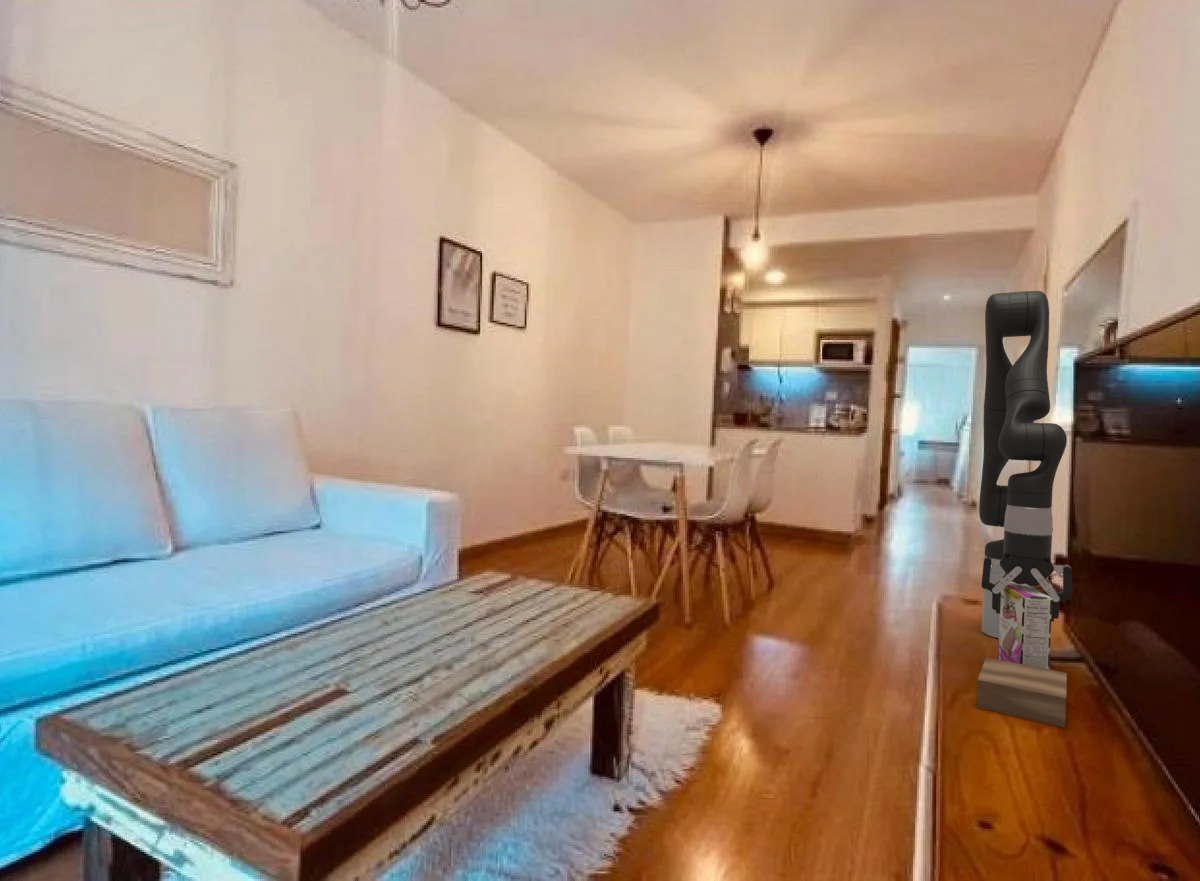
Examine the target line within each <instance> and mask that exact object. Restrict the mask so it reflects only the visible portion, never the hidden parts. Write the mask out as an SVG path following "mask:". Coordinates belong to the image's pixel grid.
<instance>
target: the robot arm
mask: <svg viewBox="0 0 1200 881" xmlns="http://www.w3.org/2000/svg"><path fill="white" fill-rule="evenodd" d="M1048 299H1049V298H1048V297H1047V295H1046V293H1045V292H1043V291H1041V290H1027V291H1026V290H1023V291H1013V292H1012V291H1010V292H1000V293H993V294H990V295H989V296H988V298H987V300H986V305H985V312H984V315H985V316H984V319H985V320H984V326H985V329H984V330H985V358H986V360H985V361H986V362H985V364H986V365H985V366H986V367H985V369H986V371H985V385H984V388H985V389H984V400H983V424H982V425H983V455H982V456H983V461H982V471H981V481H980V489H979V490H980V491H979V500H978V512H979V519H980V522H981V523H982V524H983V525H985V526H989V527H990V526H991V527H997V528H998V527H999V528H1003V539H997V540H993V541H989V542H987V543H986V544H985V546H984V558H983V563H982V564H983V566H982V574H981V575H982V576H981V588H982V589H983V590H982V614H981V632H982V633H983V634H985V635H986V636H990V637H992V638H996V639H999V614H1000V607H1001V592H1000V591H1001V590H1002V589H1003V588H1004V587H1005V586H1007V585H1008V584H1009V583H1010V582H1014V583H1016V584H1027V585H1030V586H1032V587H1036V586H1041V588H1042V589H1043V591H1045V592H1046V595H1047V596H1049V597H1051V598H1052V610H1051V623H1052V622H1053V623H1054V622H1055V620H1058V619H1059V616H1060V603H1061V602H1062V601H1066V600H1067V601H1070V600H1072V598H1073V578H1072V577H1073V573H1072V572H1073V571H1072V566H1070V565H1069V564H1064V565H1056V564H1053V563H1052V562H1053V561H1052V547H1053V546H1052V544H1053V531H1054V526H1053V520H1054V519H1053V510H1052V506H1053V490H1054V489H1053V488H1054V481H1055V477H1056V474H1057V470H1058V468H1059V465H1060V463H1061V460H1062V458H1063V456H1064V453H1065V451H1066V447H1067V442H1068V441H1067V440H1068V437H1067V434H1066V431H1065V429H1064V428H1063V427H1062V426H1061V425H1060V424H1057V423H1052V422H1051V423H1050V422H1046V423H1045V422H1036V421H1039V420H1041V419H1044V418H1045V417H1046V416H1047V415H1049V413H1050V411H1051V400H1050V391H1049V384H1048V383H1049V382H1048V357H1049V341H1050V340H1049V338H1050V336H1049V335H1050V306H1049V300H1048ZM1013 337H1017V338H1018V337H1030V339H1029V342H1028V344H1027V346H1026V347H1025V349H1024V351H1023V352H1022V353H1021V354H1020V356H1019V357H1018V358H1017V359H1016V361H1015V362H1014V364H1012V363H1011V361H1010V358H1009V356H1008V354H1007V352H1006V350H1005V347H1004V342H1003V340H1004V338H1013ZM1010 460H1011V461H1030V462H1032V461H1033V462H1040V463H1039V465H1038V467H1037V468H1036V469H1034V470H1032V471H1027V472H1020V473H1018V472H1017V473H1014V474H1011V475H1010V476H1009V477H1008V479H1007V485H999V484H997V483H998V480H999V478H1000V475H1001V473H1002V471H1003V470H1004V468H1005V466H1006V464H1007V463H1008V462H1009V461H1010ZM1054 572H1056V573H1057V576H1058V577H1059V578H1060V579H1062V591H1059V592H1057V591H1056V589H1055V588H1054V587H1053V585H1052V584H1051V583H1050V580H1049V579H1048V578H1049V576H1050V575H1052V574H1053V573H1054Z"/></svg>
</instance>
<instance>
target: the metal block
mask: <svg viewBox="0 0 1200 881" xmlns="http://www.w3.org/2000/svg"><path fill="white" fill-rule="evenodd" d="M1067 676H1068V673H1067V672H1064V671H1060V670H1054V669H1050V668H1049V669H1044V668H1039V667H1034V666H1029V665H1024V664H1018V663H1013V662H1008V661H1003V660H998V658H991V657H985V659H984V661H983V665H982V667H981V669H980V673H979V675H978V678H977V689H976V693H977V694H976V708H979V709H983V710H988V711H991V712H996V713H999V714H1005V715H1009V716H1014V717H1017V718H1021V719H1025V720H1028V721H1029V720H1030V721H1034V722H1038V723H1041V724H1046V725H1051V726H1055V727H1060V728H1063V729H1066V711H1067V684H1068V683H1067V681H1068V679H1067V678H1068V677H1067Z"/></svg>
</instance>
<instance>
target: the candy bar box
mask: <svg viewBox="0 0 1200 881" xmlns="http://www.w3.org/2000/svg"><path fill="white" fill-rule="evenodd" d="M1000 592H1001V607H1000V614H999V638H998V650H997V652H998V654H997V659H998V660H1003V661H1008V662H1013V663H1018V664H1024V665H1029V666H1034V667H1039V668H1044V669H1049V670H1050V663H1051V638H1052V637H1051V636H1052V635H1051V634H1052V621H1051V610H1052V598H1051V597H1050V596H1049V595H1048V594H1047V593H1046V594H1045V593H1044V592H1042V591H1041V590H1040V589H1037V588H1036V587H1035V586H1030V585H1027V584H1016V583H1014V582H1010V583H1009V584H1008V585H1007V586H1005V587H1004V588H1003V589H1002V590H1001V591H1000Z"/></svg>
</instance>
